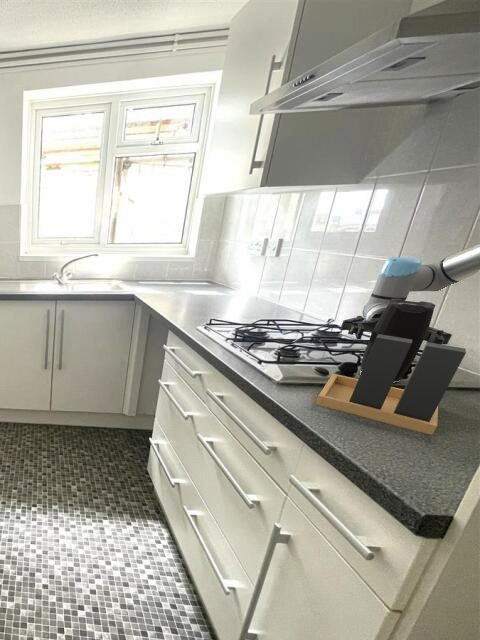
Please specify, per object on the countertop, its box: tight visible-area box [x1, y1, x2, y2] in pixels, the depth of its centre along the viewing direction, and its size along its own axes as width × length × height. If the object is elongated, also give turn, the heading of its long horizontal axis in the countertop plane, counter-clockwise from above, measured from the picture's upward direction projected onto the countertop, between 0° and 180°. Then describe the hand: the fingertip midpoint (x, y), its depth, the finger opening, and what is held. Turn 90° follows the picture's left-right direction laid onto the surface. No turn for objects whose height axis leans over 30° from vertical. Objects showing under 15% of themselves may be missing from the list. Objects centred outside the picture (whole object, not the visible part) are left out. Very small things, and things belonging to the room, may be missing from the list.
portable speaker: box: [358, 299, 436, 385], centre depth 102 cm, size 9×9×20 cm
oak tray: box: [315, 373, 439, 436], centre depth 90 cm, size 18×18×3 cm
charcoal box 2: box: [393, 341, 467, 422], centre depth 80 cm, size 5×3×16 cm, turn 43°
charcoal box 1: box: [349, 334, 412, 410], centre depth 85 cm, size 5×3×16 cm, turn 43°
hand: (397, 339), depth 100 cm, fingers open, 13 cm apart
